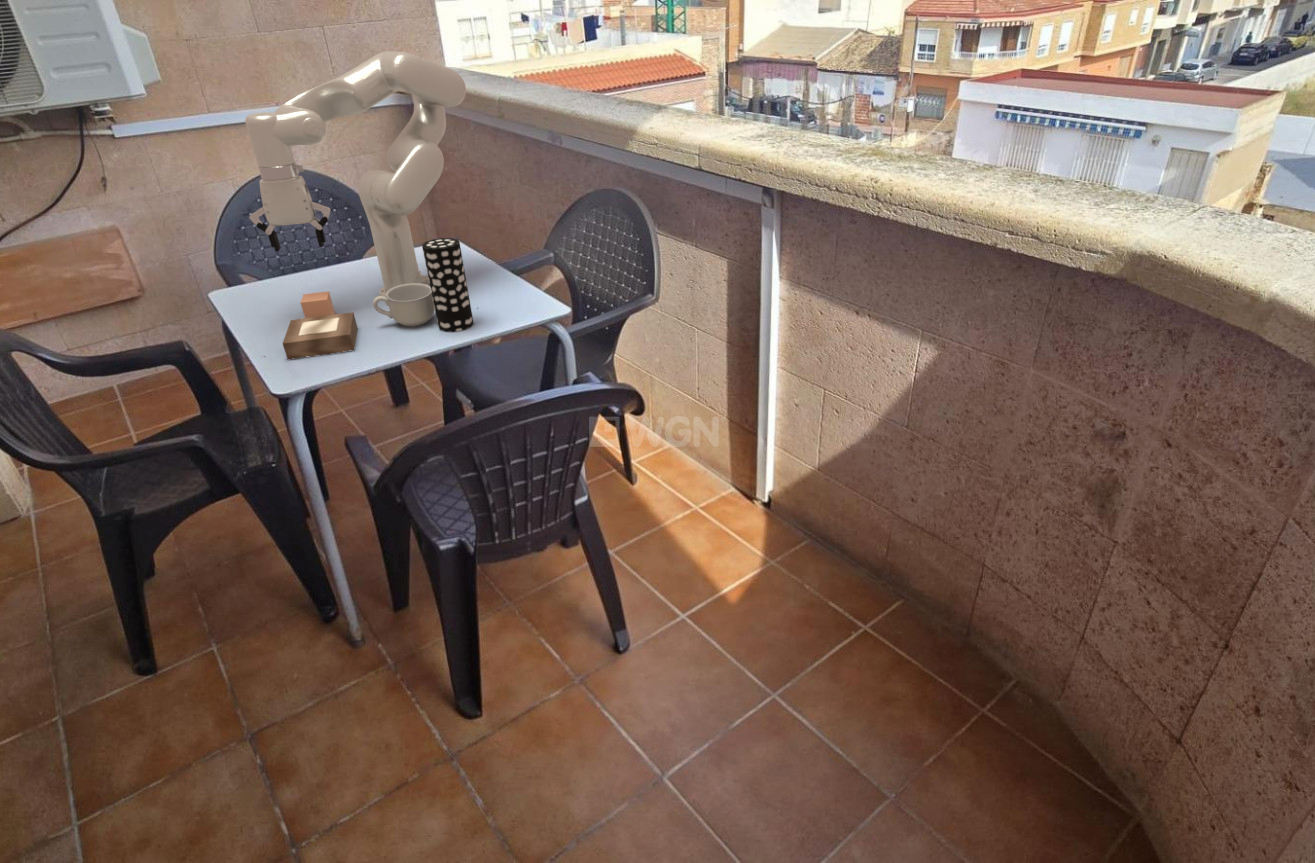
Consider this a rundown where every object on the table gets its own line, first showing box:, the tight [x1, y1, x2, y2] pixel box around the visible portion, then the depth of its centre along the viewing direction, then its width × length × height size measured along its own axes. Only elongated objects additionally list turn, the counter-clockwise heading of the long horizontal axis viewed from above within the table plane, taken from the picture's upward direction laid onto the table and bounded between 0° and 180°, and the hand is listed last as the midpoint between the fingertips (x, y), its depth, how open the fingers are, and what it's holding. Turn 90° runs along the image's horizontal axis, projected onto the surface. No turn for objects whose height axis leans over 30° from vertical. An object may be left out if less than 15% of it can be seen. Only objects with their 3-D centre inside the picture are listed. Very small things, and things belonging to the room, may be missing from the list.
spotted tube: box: [421, 237, 474, 333], centre depth 171 cm, size 8×8×20 cm
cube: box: [300, 290, 336, 318], centre depth 180 cm, size 6×6×6 cm
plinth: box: [282, 311, 358, 360], centre depth 168 cm, size 14×14×4 cm
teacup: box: [372, 283, 435, 327], centre depth 176 cm, size 14×11×8 cm
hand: (300, 247), depth 172 cm, fingers open, 9 cm apart
